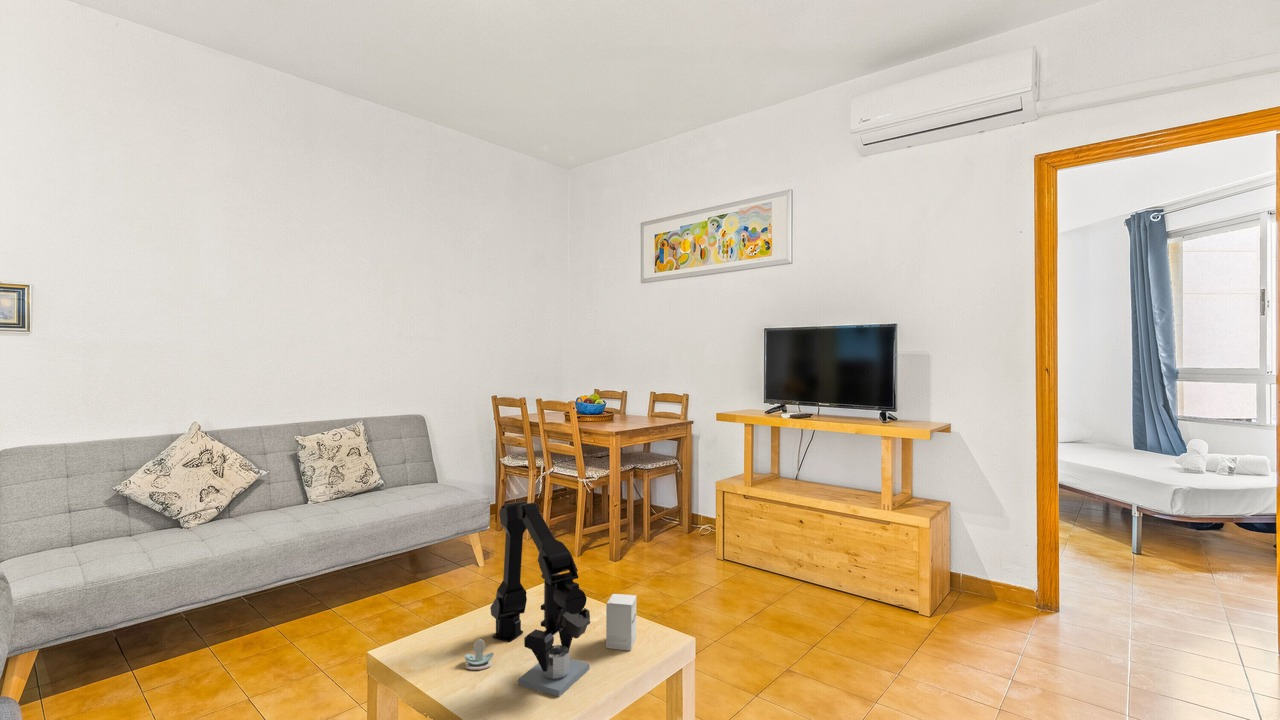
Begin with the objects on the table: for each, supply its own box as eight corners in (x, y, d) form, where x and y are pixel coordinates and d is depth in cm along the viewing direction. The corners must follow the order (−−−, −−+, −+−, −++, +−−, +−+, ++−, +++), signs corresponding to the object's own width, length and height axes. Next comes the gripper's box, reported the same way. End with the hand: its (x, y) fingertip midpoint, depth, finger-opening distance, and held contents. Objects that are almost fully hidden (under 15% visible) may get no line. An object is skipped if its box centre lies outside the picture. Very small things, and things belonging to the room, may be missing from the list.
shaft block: (518, 684, 146) (518, 667, 146) (550, 659, 158) (550, 643, 158) (559, 696, 140) (559, 678, 140) (589, 669, 153) (589, 652, 153)
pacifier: (491, 671, 153) (494, 658, 159) (491, 647, 153) (494, 635, 158) (462, 673, 152) (466, 660, 158) (462, 649, 151) (466, 637, 157)
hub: (537, 674, 146) (537, 654, 146) (552, 662, 152) (552, 643, 152) (559, 680, 144) (559, 659, 144) (573, 668, 149) (573, 648, 149)
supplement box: (631, 651, 163) (631, 605, 163) (605, 648, 164) (605, 602, 164) (637, 638, 170) (637, 594, 170) (612, 636, 171) (612, 592, 171)
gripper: (562, 620, 136) (562, 688, 136) (602, 592, 153) (602, 652, 153) (522, 611, 141) (522, 677, 141) (565, 585, 158) (565, 643, 158)
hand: (555, 662), depth 148 cm, fingers open, 9 cm apart
